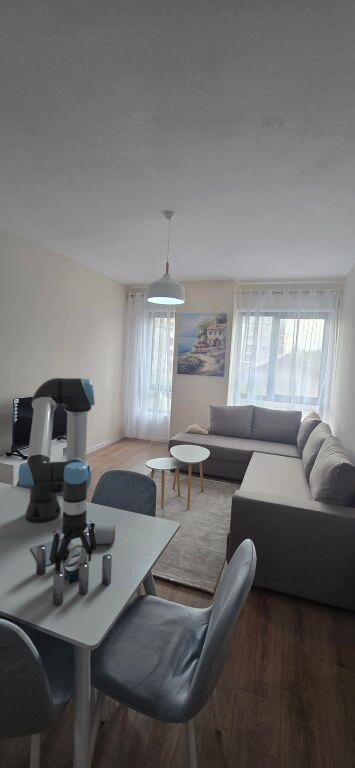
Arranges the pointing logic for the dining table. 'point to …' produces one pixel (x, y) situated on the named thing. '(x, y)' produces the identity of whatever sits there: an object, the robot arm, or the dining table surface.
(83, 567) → the post field
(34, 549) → the mat
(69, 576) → the watch
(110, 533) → the ceramic mug
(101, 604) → the dining table surface
